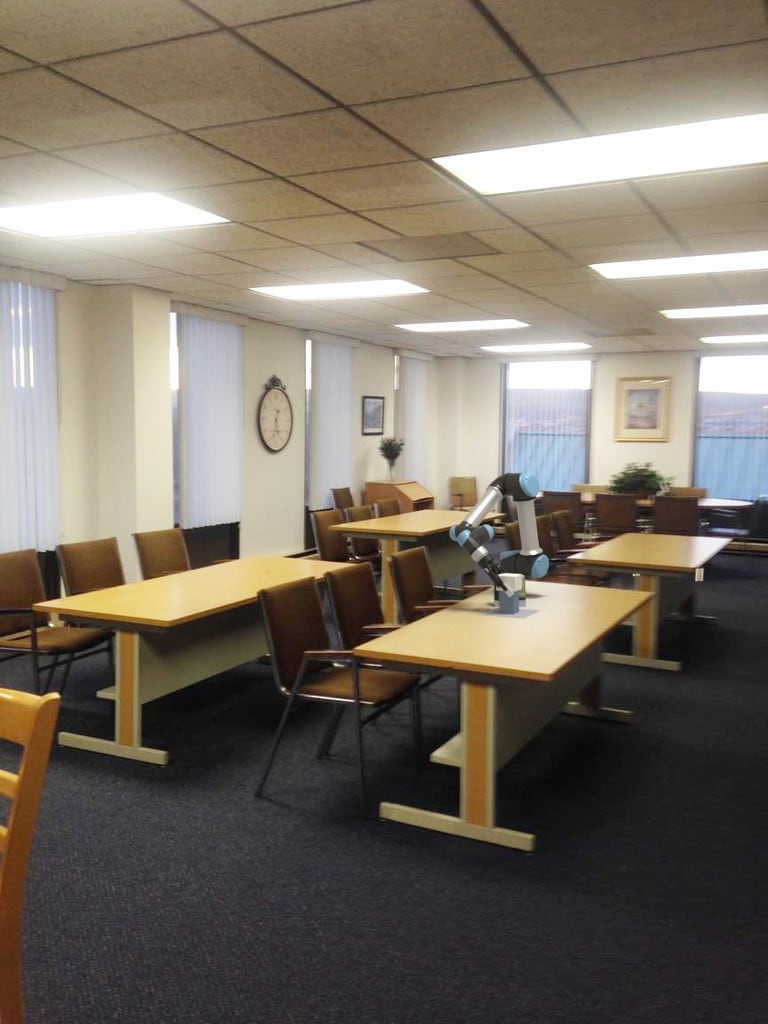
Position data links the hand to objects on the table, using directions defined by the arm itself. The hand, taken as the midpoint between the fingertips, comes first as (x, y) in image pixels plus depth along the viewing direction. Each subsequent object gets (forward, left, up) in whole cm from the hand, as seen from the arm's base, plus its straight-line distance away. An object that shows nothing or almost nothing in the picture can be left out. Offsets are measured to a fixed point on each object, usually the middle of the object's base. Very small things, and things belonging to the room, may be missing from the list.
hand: (515, 593), depth 393 cm
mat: (0, -3, -9) cm, 10 cm away
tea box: (-19, -10, -10) cm, 24 cm away
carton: (0, -3, -9) cm, 9 cm away
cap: (0, -3, +2) cm, 4 cm away
